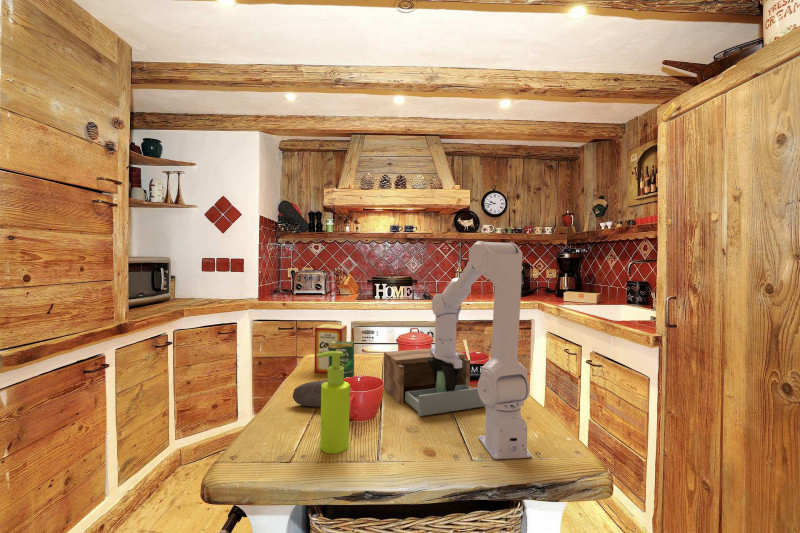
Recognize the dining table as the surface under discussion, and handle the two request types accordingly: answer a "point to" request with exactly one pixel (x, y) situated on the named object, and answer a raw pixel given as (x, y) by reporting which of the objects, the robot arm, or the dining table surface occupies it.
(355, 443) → the dining table surface
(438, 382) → the sea green cylinder
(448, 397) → the drawer tray
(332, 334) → the red food box
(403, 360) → the wooden drawer box
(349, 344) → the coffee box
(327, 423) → the soap dispenser
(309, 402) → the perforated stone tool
